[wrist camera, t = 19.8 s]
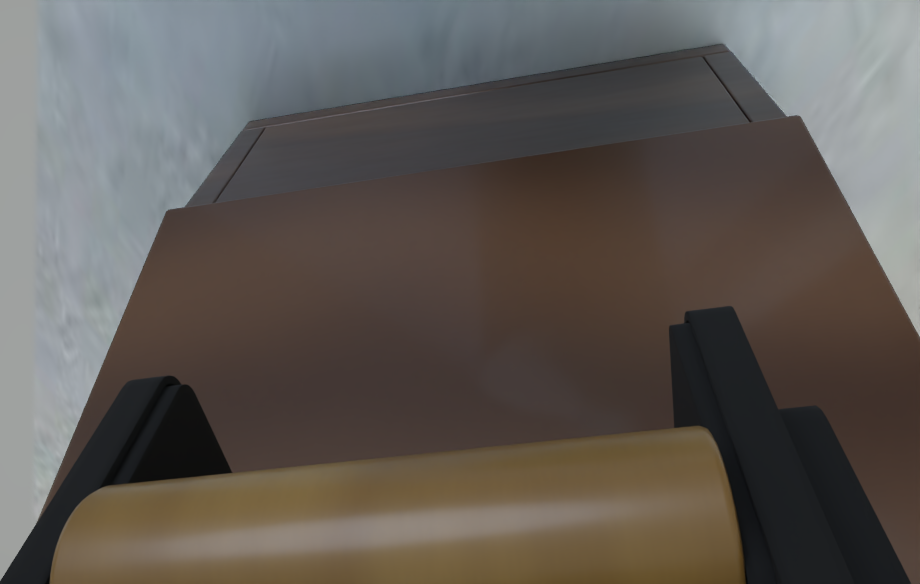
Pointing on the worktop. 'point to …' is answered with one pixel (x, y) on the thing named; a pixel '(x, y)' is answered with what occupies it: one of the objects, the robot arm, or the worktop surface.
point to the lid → (497, 370)
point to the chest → (490, 123)
